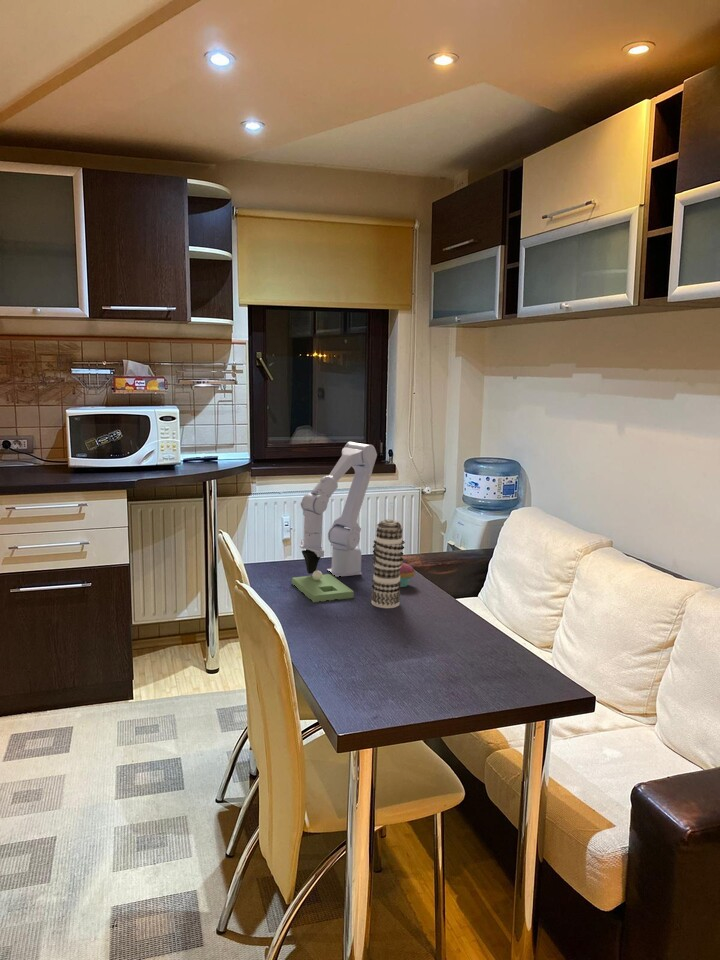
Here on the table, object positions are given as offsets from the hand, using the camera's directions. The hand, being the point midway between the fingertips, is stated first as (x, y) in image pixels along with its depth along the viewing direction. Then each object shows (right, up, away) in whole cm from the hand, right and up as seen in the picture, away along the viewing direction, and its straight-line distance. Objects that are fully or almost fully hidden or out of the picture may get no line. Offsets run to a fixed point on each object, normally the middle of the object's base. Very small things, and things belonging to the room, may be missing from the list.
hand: (311, 572), depth 230 cm
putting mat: (+4, -5, -7) cm, 9 cm away
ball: (+2, -2, -4) cm, 5 cm away
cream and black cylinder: (+23, -7, -16) cm, 29 cm away
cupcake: (+29, -4, +2) cm, 29 cm away
